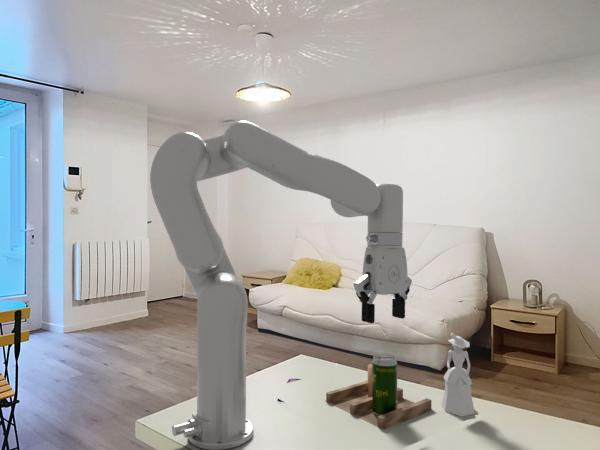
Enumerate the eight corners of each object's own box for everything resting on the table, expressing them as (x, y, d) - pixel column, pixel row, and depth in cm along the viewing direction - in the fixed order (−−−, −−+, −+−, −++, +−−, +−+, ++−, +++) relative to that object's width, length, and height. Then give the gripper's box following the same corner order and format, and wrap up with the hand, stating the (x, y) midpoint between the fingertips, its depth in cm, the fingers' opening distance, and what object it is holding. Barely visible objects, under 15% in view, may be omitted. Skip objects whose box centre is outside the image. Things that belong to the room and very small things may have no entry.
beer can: (395, 408, 94) (395, 354, 95) (398, 419, 89) (398, 361, 89) (371, 407, 95) (371, 353, 95) (372, 418, 90) (373, 361, 90)
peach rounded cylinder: (377, 400, 99) (377, 370, 99) (363, 395, 103) (363, 365, 103) (390, 396, 102) (390, 367, 102) (376, 391, 105) (376, 362, 105)
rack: (383, 434, 85) (383, 419, 85) (325, 405, 99) (325, 392, 99) (433, 414, 94) (432, 400, 94) (373, 390, 109) (373, 378, 109)
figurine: (447, 420, 91) (447, 336, 91) (437, 405, 99) (437, 327, 99) (480, 421, 90) (480, 336, 91) (468, 406, 99) (468, 328, 99)
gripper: (369, 241, 85) (368, 327, 84) (423, 241, 95) (422, 318, 95) (343, 240, 91) (342, 321, 90) (397, 240, 101) (396, 313, 101)
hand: (383, 319), depth 92 cm, fingers open, 9 cm apart
